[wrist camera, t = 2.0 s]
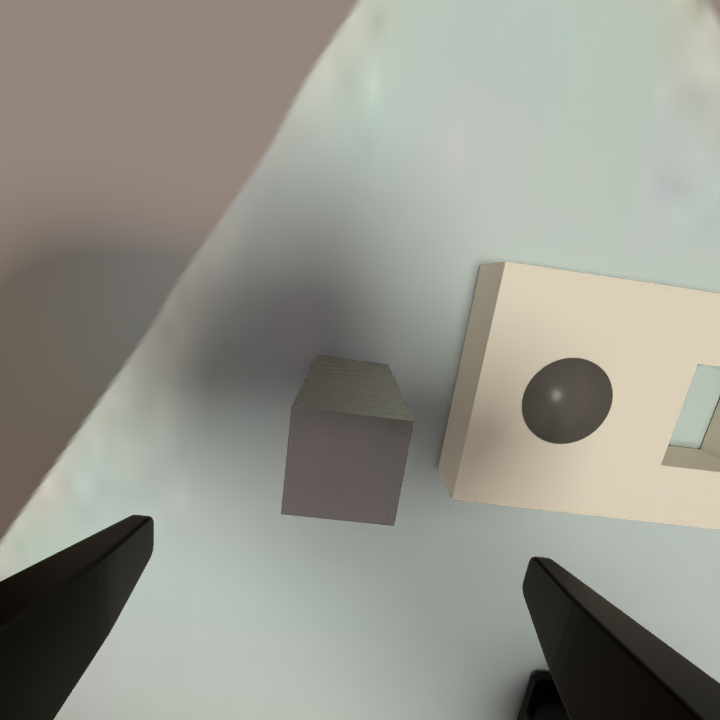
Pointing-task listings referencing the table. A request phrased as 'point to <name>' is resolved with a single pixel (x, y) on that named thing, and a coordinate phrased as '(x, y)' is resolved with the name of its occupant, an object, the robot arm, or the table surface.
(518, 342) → the socket plate
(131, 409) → the table surface
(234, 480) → the table surface
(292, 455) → the square peg
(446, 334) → the table surface
